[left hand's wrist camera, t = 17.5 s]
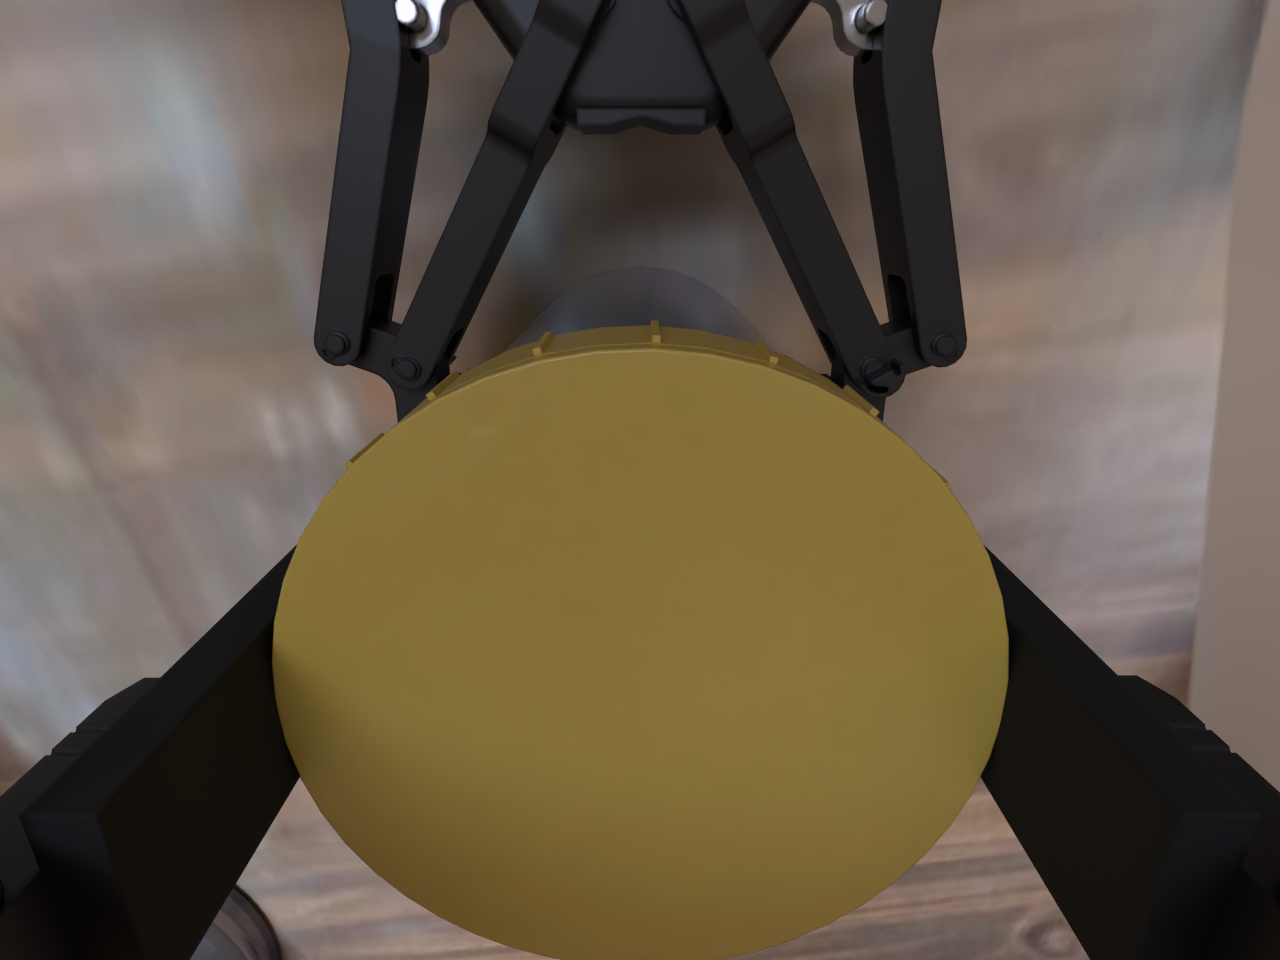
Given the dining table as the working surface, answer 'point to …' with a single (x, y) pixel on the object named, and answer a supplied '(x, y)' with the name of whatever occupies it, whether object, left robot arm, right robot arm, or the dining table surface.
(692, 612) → the lid
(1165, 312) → the dining table surface
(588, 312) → the jar
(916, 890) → the dining table surface
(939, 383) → the dining table surface
